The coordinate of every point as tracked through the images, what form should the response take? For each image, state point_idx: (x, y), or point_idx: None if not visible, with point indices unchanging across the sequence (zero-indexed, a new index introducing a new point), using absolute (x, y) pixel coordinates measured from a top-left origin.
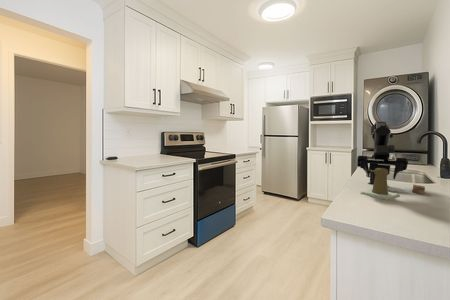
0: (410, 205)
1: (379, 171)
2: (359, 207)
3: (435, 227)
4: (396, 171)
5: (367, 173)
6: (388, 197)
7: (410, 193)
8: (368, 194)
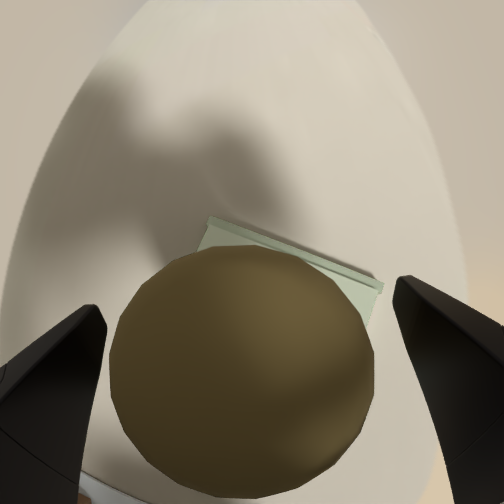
0: (113, 187)
1: (266, 248)
2: (312, 47)
3: (128, 36)
4: (16, 361)
5: (433, 288)
6: (200, 246)
7: (94, 479)
8: (329, 261)
